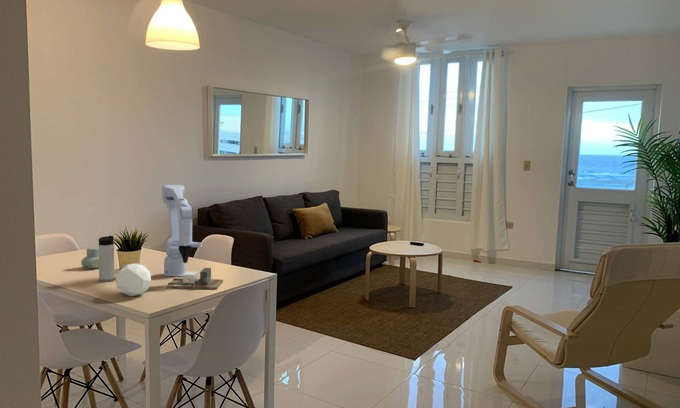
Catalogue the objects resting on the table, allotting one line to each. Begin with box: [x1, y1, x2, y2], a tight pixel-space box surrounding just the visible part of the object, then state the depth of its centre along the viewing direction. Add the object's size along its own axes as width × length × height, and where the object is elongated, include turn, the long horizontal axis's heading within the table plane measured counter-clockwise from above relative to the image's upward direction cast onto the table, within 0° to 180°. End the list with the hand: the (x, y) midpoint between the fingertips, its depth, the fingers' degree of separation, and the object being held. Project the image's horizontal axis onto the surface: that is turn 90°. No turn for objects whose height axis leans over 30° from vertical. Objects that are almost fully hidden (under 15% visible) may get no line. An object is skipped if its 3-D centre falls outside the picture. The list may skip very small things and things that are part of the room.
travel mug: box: [98, 235, 115, 283], centre depth 230 cm, size 6×7×20 cm
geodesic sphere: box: [115, 261, 152, 297], centre depth 210 cm, size 14×14×14 cm
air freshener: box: [80, 246, 99, 270], centre depth 252 cm, size 11×8×10 cm
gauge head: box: [182, 270, 199, 283], centre depth 226 cm, size 5×9×4 cm, turn 1°
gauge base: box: [165, 267, 224, 290], centre depth 228 cm, size 22×13×7 cm, turn 91°
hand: (185, 262), depth 230 cm, fingers closed
